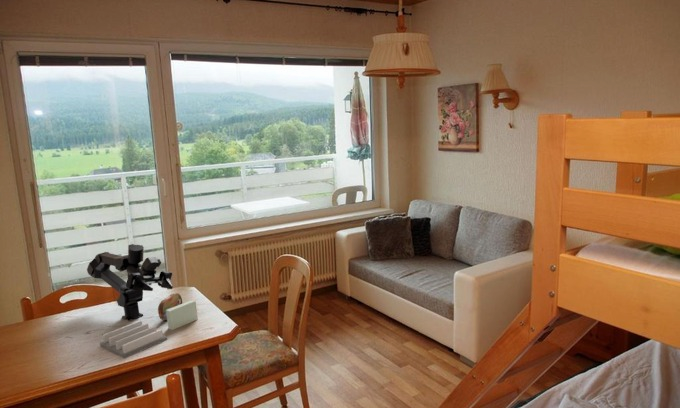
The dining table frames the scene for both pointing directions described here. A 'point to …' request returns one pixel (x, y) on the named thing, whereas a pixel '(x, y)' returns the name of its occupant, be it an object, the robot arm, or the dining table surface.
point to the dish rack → (132, 339)
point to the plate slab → (181, 314)
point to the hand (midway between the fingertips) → (162, 288)
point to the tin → (168, 305)
